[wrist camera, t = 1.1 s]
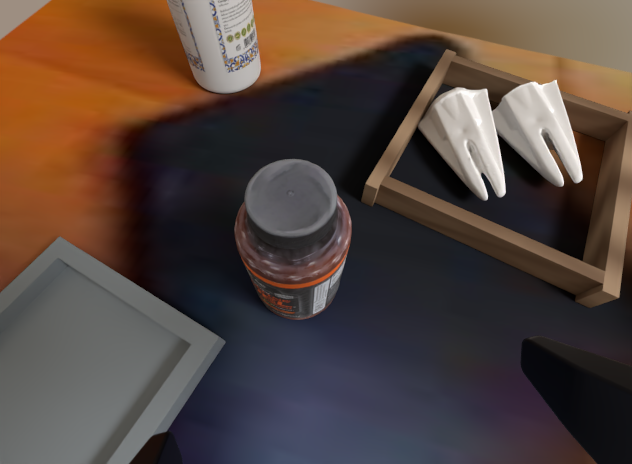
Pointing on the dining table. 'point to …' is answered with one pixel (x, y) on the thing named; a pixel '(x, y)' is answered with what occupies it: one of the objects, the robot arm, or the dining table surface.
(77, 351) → the tray
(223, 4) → the bath foam
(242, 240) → the supplement bottle
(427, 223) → the frame
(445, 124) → the salt and pepper shakers
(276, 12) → the dining table surface
